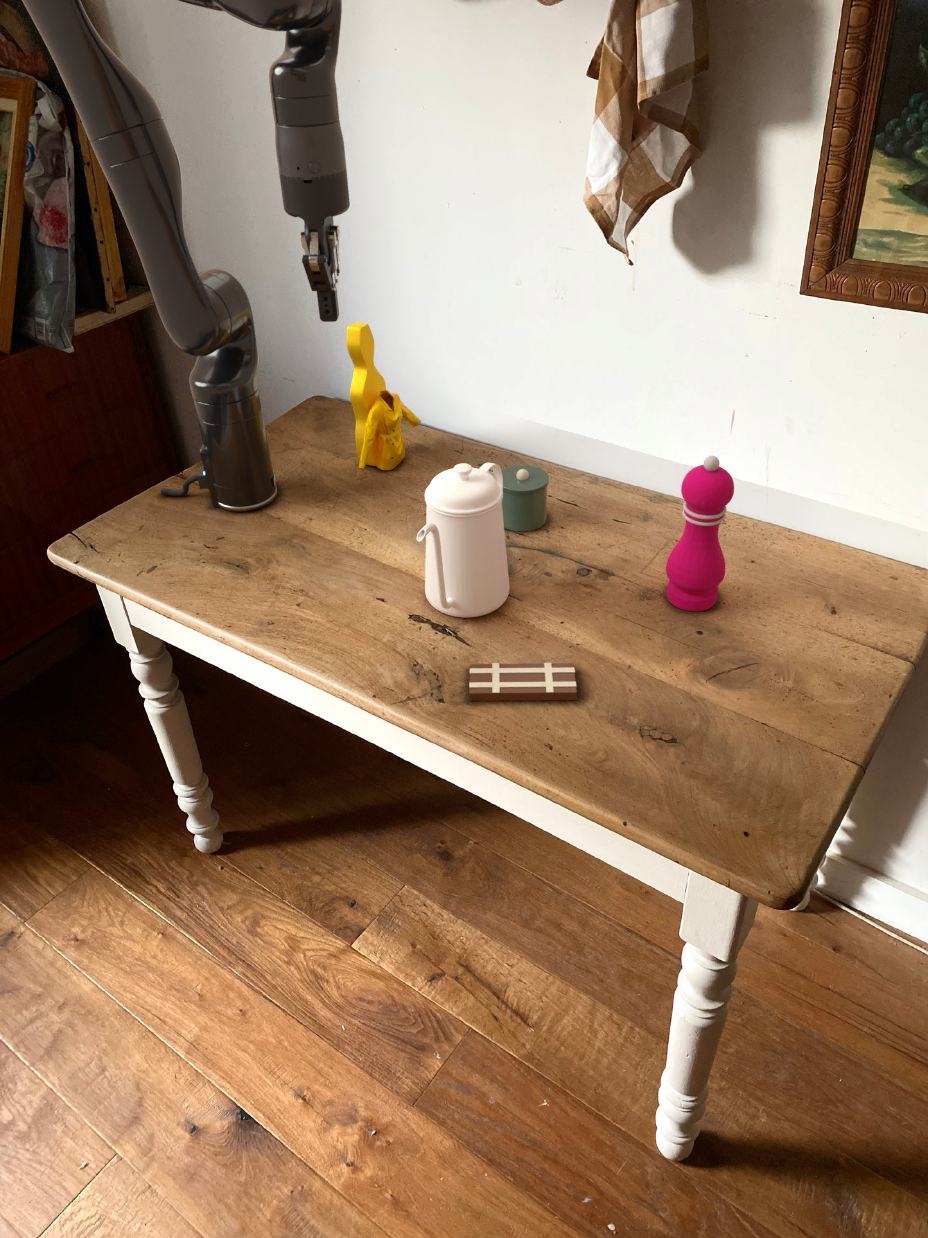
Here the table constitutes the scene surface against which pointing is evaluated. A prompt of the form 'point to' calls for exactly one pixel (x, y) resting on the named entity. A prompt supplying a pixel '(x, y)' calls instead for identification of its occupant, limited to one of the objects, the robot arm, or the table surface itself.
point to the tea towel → (522, 682)
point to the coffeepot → (465, 541)
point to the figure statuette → (375, 406)
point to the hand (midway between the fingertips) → (329, 319)
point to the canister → (524, 497)
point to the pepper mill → (700, 538)
